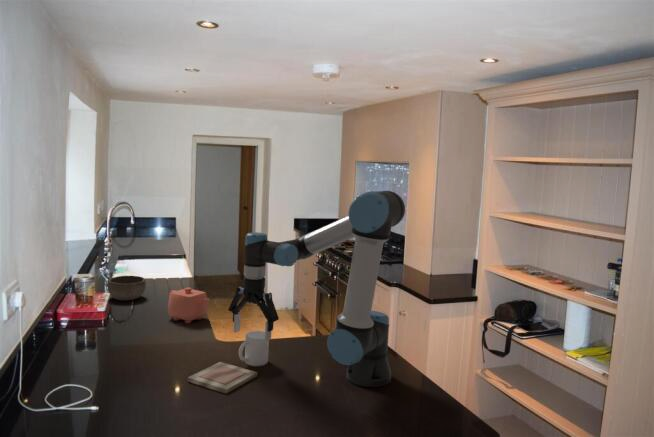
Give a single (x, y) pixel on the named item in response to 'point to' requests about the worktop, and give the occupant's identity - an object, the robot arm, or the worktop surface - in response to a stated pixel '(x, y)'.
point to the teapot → (187, 304)
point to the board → (222, 377)
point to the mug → (255, 349)
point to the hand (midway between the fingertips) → (252, 335)
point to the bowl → (126, 287)
